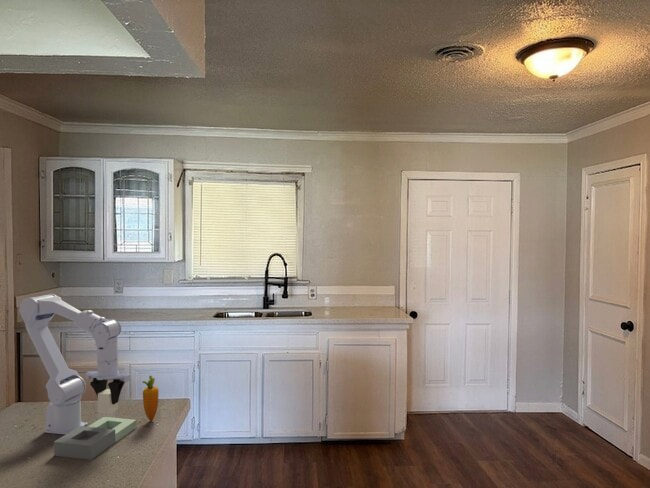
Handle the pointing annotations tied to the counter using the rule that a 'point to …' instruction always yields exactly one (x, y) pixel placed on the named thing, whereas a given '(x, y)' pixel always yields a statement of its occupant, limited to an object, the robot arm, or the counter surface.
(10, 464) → the counter surface
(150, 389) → the carrot
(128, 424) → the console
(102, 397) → the peg
